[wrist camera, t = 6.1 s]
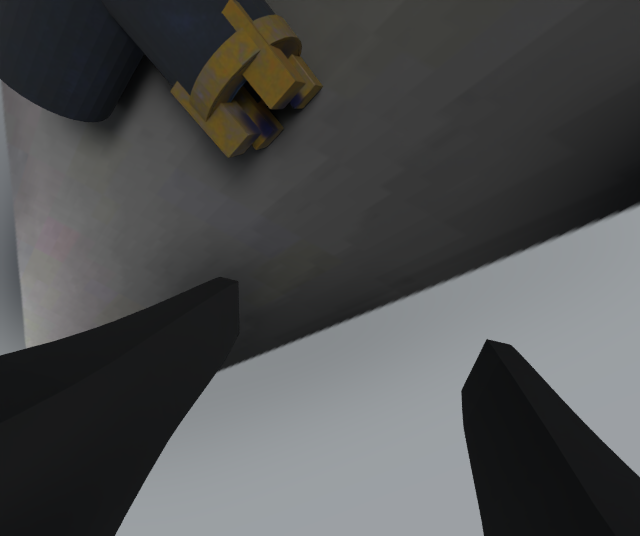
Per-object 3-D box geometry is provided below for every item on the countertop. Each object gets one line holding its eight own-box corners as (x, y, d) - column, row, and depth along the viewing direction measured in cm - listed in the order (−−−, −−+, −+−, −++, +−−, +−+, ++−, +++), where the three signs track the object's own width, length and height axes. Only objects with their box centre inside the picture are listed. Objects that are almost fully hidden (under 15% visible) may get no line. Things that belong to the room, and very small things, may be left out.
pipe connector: (437, -94, 8) (153, 238, 15) (427, -22, 12) (213, 206, 20) (70, -706, 6) (-60, 22, 13) (222, -345, 10) (64, 44, 17)
